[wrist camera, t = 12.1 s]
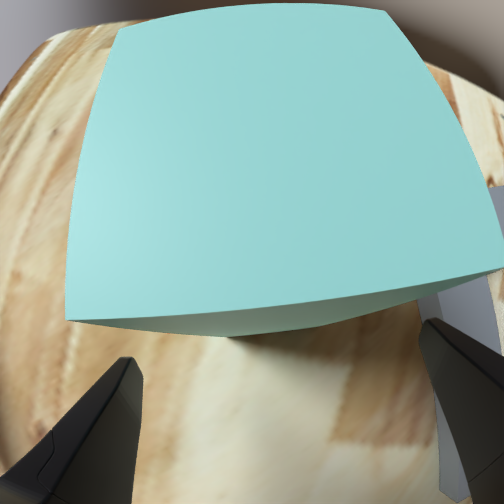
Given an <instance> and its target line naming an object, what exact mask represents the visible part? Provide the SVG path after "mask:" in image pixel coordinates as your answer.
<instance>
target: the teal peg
mask: <svg viewBox="0 0 504 504" xmlns="http://www.w3.org/2000/svg"><path fill="white" fill-rule="evenodd" d="M503 268H504V239H503V235H502V232H501V228H500V225H499V221H498V218H497V215H496V211H495V208H494V205H493V202H492V199H491V196H490V194H489V191H488V188H487V185H486V183H485V180H484V177H483V175H482V172H481V170H480V167H479V165H478V162H477V160H476V158H475V155H474V153H473V151H472V149H471V146H470V144H469V142H468V140H467V138H466V136H465V134H464V132H463V129H462V127H461V125H460V123H459V122H458V120H457V118H456V116H455V114H454V112H453V110H452V108H451V106H450V105H449V103H448V101H447V99H446V98H445V96H444V94H443V92H442V91H441V89H440V87H439V86H438V84H437V82H436V81H435V79H434V77H433V76H432V74H431V73H430V71H429V70H428V68H427V67H426V65H425V64H424V62H423V61H422V59H421V58H420V56H419V55H418V53H417V52H416V50H415V49H414V48H413V46H412V45H411V44H410V42H409V41H408V40H407V39H406V37H405V35H404V34H403V33H402V32H401V30H400V29H399V28H398V26H397V25H396V24H395V23H394V21H393V20H392V19H391V18H390V17H389V15H388V14H387V13H386V12H385V11H382V10H376V9H369V8H361V7H352V6H342V5H330V4H309V3H308V4H307V3H273V4H252V5H239V6H230V7H221V8H213V9H206V10H200V11H194V12H187V13H182V14H177V15H172V16H167V17H163V18H159V19H154V20H150V21H146V22H142V23H139V24H135V25H132V26H128V27H125V28H121V29H119V31H118V33H117V36H116V38H115V41H114V43H113V46H112V48H111V51H110V54H109V56H108V59H107V62H106V65H105V68H104V71H103V73H102V76H101V79H100V83H99V86H98V89H97V92H96V95H95V99H94V102H93V106H92V109H91V113H90V117H89V120H88V124H87V128H86V132H85V137H84V141H83V145H82V150H81V155H80V160H79V165H78V170H77V176H76V181H75V187H74V194H73V201H72V208H71V216H70V225H69V234H68V246H67V260H66V282H65V320H69V321H75V322H81V323H88V324H95V325H102V326H109V327H117V328H125V329H133V330H142V331H152V332H162V333H173V334H186V335H200V336H215V337H233V336H244V335H254V334H263V333H272V332H281V331H289V330H297V329H305V328H312V327H319V326H323V325H327V324H331V323H335V322H339V321H343V320H347V319H351V318H354V317H358V316H362V315H366V314H369V313H373V312H376V311H380V310H383V309H387V308H390V307H394V306H397V305H400V304H404V303H407V302H410V301H413V300H416V299H420V298H423V297H426V296H429V295H432V294H435V293H438V292H441V291H444V290H447V289H450V288H452V287H455V286H458V285H461V284H464V283H466V282H469V281H472V280H475V279H477V278H480V277H483V276H485V275H488V274H490V273H493V272H495V271H498V270H500V269H503Z"/></svg>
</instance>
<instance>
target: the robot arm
mask: <svg viewBox="0 0 504 504" xmlns="http://www.w3.org/2000/svg"><path fill="white" fill-rule="evenodd" d="M419 346H420V349H421V352H422V355H423V358H424V361H425V365H426V368H427V371H428V374H429V377H430V380H431V383H432V386H433V388H434V391H435V393H436V396H437V398H438V401H439V403H440V406H441V408H442V411H443V413H444V416H445V418H446V421H447V424H448V426H449V429H450V432H451V434H452V437H453V440H454V443H455V446H456V449H457V452H458V455H459V458H460V461H461V464H462V467H463V470H464V473H465V477H466V480H467V483H468V487H469V491H470V495H471V498H472V502H473V504H504V356H502V355H500V354H499V353H497V352H495V351H494V350H492V349H490V348H489V347H487V346H485V345H484V344H482V343H480V342H479V341H477V340H475V339H474V338H472V337H470V336H469V335H467V334H465V333H463V332H462V331H460V330H458V329H457V328H455V327H453V326H451V325H450V324H448V323H446V322H445V321H443V320H441V319H439V318H437V317H432V318H428V319H426V320H425V321H424V322H423V326H422V329H421V332H420V335H419ZM142 397H143V375H142V372H141V370H140V368H139V367H138V365H137V363H136V361H135V359H134V358H133V357H120V358H119V359H118V360H117V361H116V362H115V363H114V364H113V365H112V366H111V367H110V368H109V369H108V370H107V371H106V372H105V373H104V374H103V375H102V376H101V377H100V378H99V379H98V381H97V382H96V383H95V384H94V385H93V386H92V387H91V388H90V389H89V390H88V391H87V392H86V393H85V394H84V395H83V396H82V397H81V398H80V399H79V400H78V401H77V403H76V404H75V405H74V406H73V407H72V408H71V409H70V410H69V411H68V412H67V413H66V414H65V415H64V416H63V417H62V418H61V419H60V421H59V422H58V423H57V424H56V425H55V426H54V427H53V428H52V430H50V431H49V432H48V433H47V434H46V435H45V437H44V438H43V439H42V440H41V441H40V442H39V443H38V444H37V445H36V446H35V447H34V448H33V449H32V450H30V451H29V452H28V453H27V454H26V455H25V456H24V457H23V458H22V459H21V460H19V461H18V462H17V463H16V464H15V465H14V466H13V467H11V468H10V469H9V470H8V471H7V472H6V473H5V474H3V475H2V476H1V477H0V504H131V503H132V492H133V483H134V474H135V465H136V458H137V450H138V443H139V436H140V429H141V419H142Z"/></svg>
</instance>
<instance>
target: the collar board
mask: <svg viewBox="0 0 504 504" xmlns="http://www.w3.org/2000/svg"><path fill="white" fill-rule="evenodd" d="M488 191H489V194H490V196H491V199H492V202H493V205H494V208H495V211H496V215H497V218H498V221H499V225H500V228H501V232H502V235H503V239H504V186H498V187H492V188H488ZM417 304H418V308H419V312H420V317H421V321H422V326H423V322H424V321H425V320H426V319H428V318H432V317H437V318H439V319H441V320H443V321H445V322H446V323H448V324H450V325H451V326H453V327H455V328H457V329H458V330H460V331H462V332H463V333H465V334H467V335H469V336H470V337H472V338H474V339H475V340H477V341H479V342H480V343H482V344H484V345H485V346H487V347H489V348H490V349H492V350H494V351H495V352H497V353H499V354H500V355H502V353H501V346H500V339H499V333H498V327H497V321H496V316H495V311H494V306H493V301H492V297H491V292H490V288H489V284H488V280H487V276H486V275H485V276H483V277H480V278H477V279H475V280H472V281H469V282H466V283H464V284H461V285H458V286H455V287H452V288H450V289H447V290H444V291H441V292H438V293H435V294H432V295H429V296H426V297H423V298H420V299H417ZM433 389H434V388H433ZM434 397H435V406H436V416H437V427H438V442H439V468H440V491H441V492H443V493H444V494H445V495H447V496H448V497H449V498H451V499H452V500H454V501H455V502H456V503H459V502H460V501H462V500H464V499H465V498H467V497H468V496H470V491H469V487H468V483H467V480H466V477H465V473H464V470H463V467H462V464H461V461H460V458H459V455H458V452H457V449H456V446H455V443H454V440H453V437H452V434H451V432H450V429H449V426H448V424H447V421H446V418H445V416H444V413H443V411H442V408H441V406H440V403H439V401H438V398H437V396H436V393H435V391H434Z"/></svg>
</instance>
